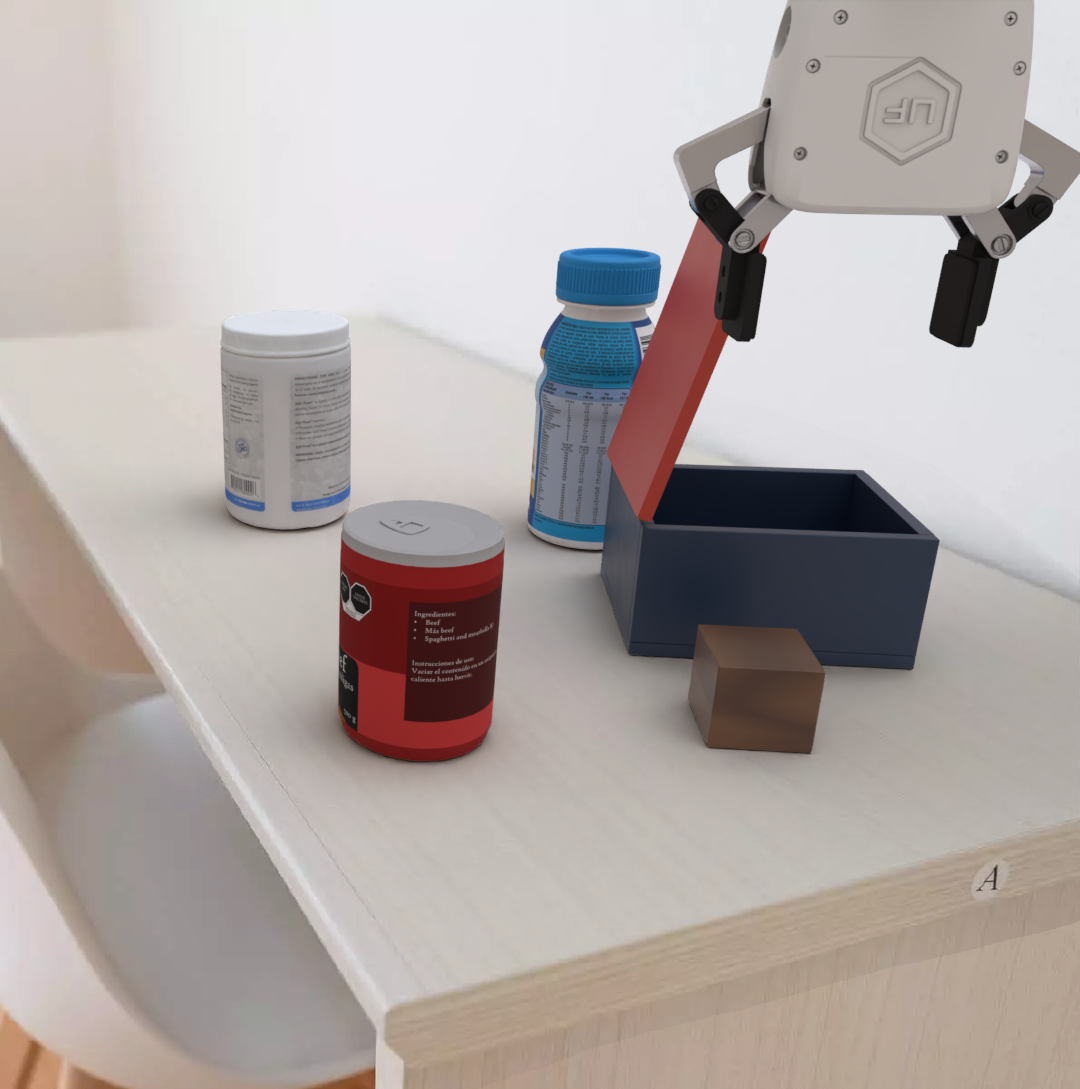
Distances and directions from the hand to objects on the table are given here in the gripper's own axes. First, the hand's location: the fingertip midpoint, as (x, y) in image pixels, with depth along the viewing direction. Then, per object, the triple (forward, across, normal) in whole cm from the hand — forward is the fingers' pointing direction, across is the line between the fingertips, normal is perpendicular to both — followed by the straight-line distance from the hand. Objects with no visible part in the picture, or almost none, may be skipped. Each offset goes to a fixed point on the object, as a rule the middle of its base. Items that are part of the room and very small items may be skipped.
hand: (842, 338), depth 57 cm
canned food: (+20, -19, -3) cm, 28 cm away
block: (+20, -2, -2) cm, 20 cm away
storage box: (+20, +2, +12) cm, 23 cm away
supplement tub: (+20, -28, +30) cm, 45 cm away
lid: (+4, -4, +12) cm, 14 cm away
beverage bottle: (+20, -6, +27) cm, 34 cm away
